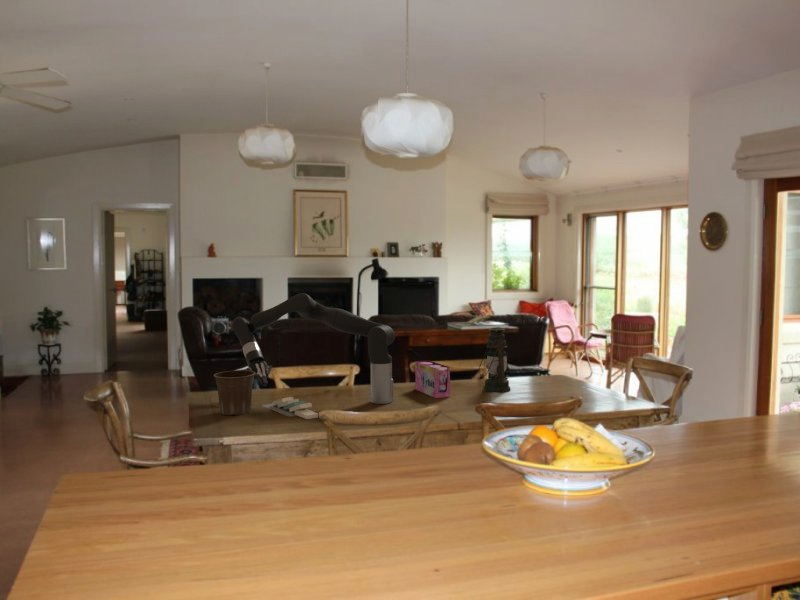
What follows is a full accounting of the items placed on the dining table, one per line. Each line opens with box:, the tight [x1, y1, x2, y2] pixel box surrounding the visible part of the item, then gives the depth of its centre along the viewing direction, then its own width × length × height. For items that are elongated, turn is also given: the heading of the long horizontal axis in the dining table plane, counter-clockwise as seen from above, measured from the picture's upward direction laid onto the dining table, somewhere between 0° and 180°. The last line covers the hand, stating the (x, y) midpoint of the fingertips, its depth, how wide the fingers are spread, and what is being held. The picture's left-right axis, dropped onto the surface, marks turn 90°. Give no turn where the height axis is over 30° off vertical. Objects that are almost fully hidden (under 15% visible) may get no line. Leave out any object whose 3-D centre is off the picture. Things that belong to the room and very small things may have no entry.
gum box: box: [414, 359, 451, 399], centre depth 315 cm, size 24×8×14 cm, turn 22°
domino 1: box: [271, 396, 294, 406], centre depth 288 cm, size 2×5×10 cm
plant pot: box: [213, 369, 255, 416], centre depth 279 cm, size 16×16×16 cm
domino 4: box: [295, 408, 319, 420], centre depth 271 cm, size 2×5×10 cm
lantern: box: [477, 326, 511, 394], centre depth 321 cm, size 19×14×30 cm
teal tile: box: [283, 400, 306, 410], centre depth 279 cm, size 2×5×10 cm
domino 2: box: [277, 398, 300, 408], centre depth 284 cm, size 2×5×10 cm
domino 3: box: [289, 402, 313, 412], centre depth 275 cm, size 2×5×10 cm
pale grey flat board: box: [260, 403, 315, 418], centre depth 284 cm, size 26×12×1 cm, turn 36°
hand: (265, 385), depth 301 cm, fingers closed
